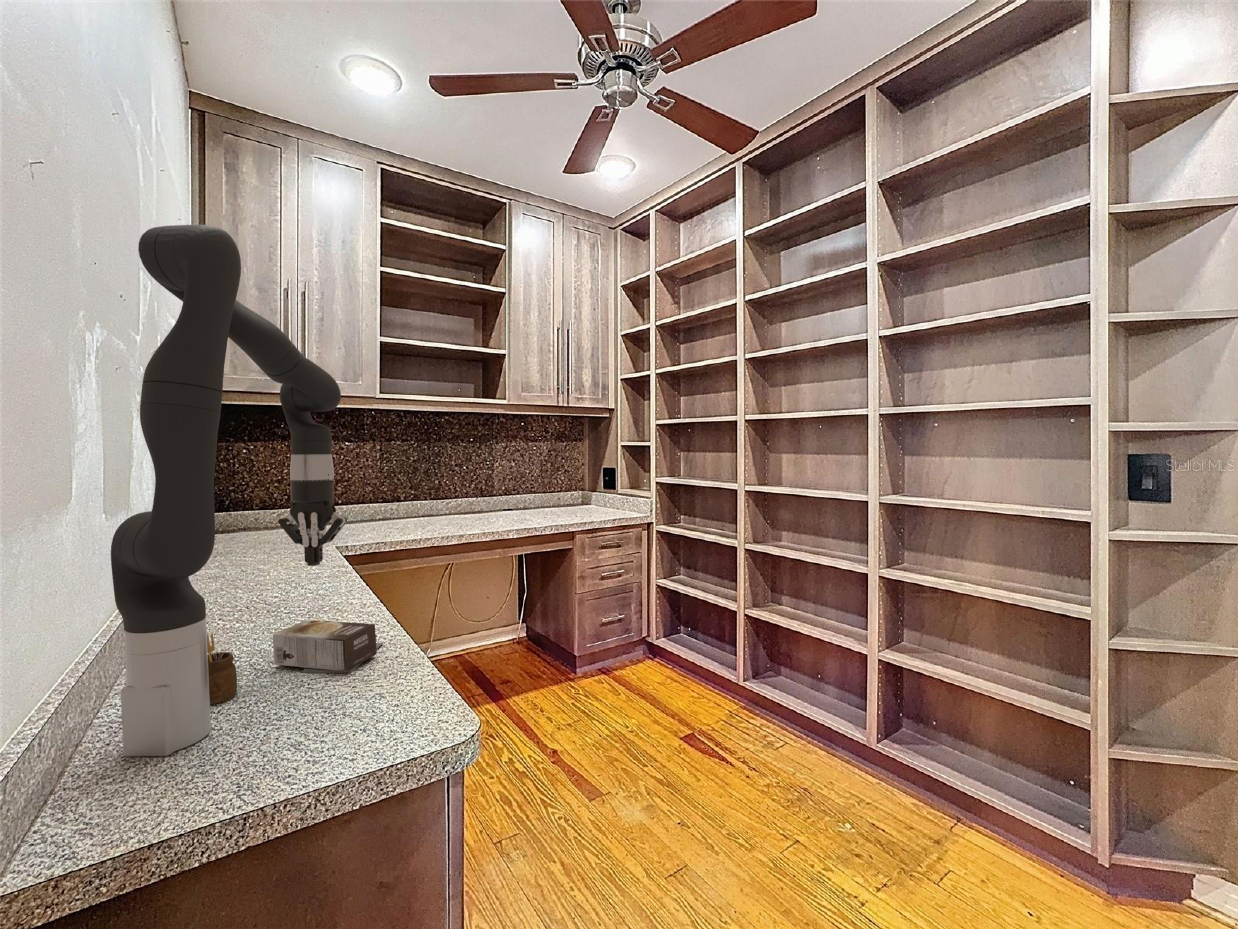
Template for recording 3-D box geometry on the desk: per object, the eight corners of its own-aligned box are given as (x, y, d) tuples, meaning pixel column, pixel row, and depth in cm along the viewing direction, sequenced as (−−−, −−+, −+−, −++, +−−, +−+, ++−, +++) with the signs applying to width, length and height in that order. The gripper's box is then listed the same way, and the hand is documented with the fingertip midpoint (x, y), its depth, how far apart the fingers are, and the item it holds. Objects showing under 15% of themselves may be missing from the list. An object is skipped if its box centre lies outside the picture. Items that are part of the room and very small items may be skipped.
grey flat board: (351, 672, 104) (350, 670, 104) (302, 673, 104) (302, 670, 104) (382, 645, 118) (382, 642, 118) (340, 645, 118) (340, 643, 118)
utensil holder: (241, 687, 98) (238, 620, 98) (231, 703, 92) (228, 632, 92) (201, 693, 96) (198, 625, 96) (188, 710, 90) (184, 637, 90)
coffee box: (307, 618, 115) (376, 622, 112) (309, 648, 115) (378, 654, 112) (271, 633, 106) (345, 639, 103) (272, 666, 106) (346, 673, 103)
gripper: (266, 478, 106) (268, 569, 107) (336, 478, 106) (337, 569, 107) (289, 476, 114) (291, 561, 114) (354, 476, 114) (356, 561, 114)
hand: (314, 565), depth 110 cm, fingers closed
